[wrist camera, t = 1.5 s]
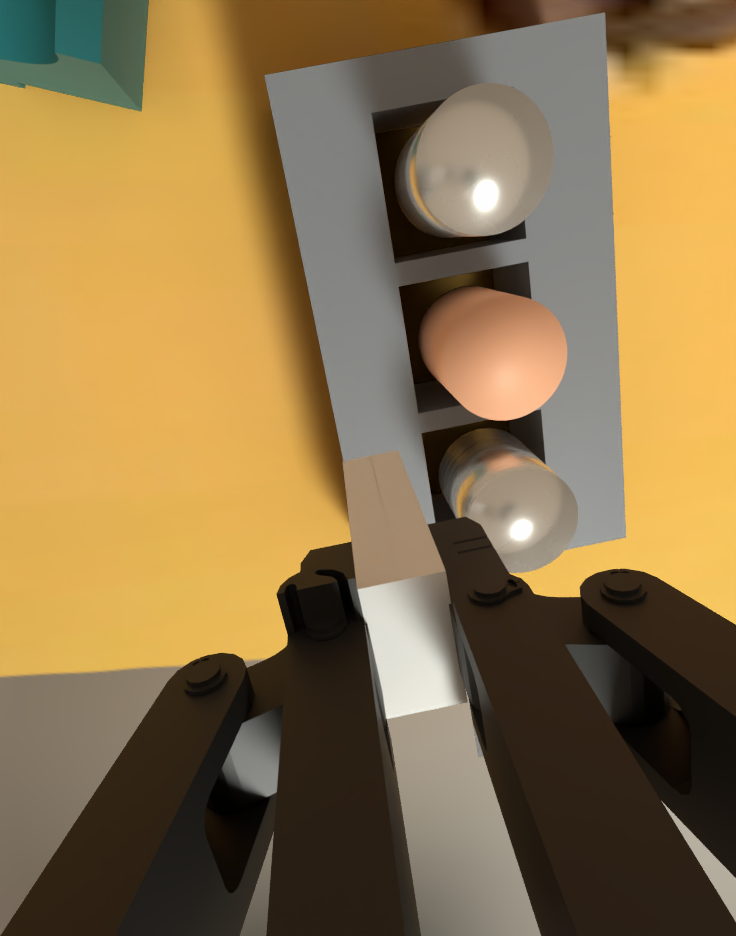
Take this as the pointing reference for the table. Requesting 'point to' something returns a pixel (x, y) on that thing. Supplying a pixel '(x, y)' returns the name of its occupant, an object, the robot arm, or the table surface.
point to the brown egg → (493, 351)
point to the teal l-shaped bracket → (76, 47)
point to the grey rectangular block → (461, 251)
